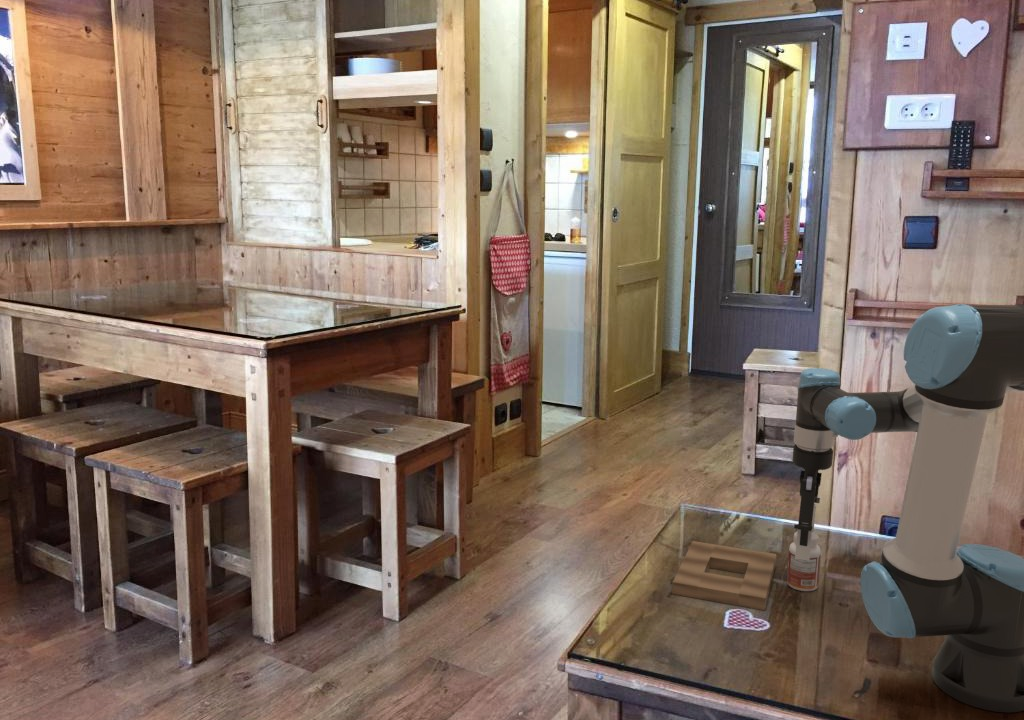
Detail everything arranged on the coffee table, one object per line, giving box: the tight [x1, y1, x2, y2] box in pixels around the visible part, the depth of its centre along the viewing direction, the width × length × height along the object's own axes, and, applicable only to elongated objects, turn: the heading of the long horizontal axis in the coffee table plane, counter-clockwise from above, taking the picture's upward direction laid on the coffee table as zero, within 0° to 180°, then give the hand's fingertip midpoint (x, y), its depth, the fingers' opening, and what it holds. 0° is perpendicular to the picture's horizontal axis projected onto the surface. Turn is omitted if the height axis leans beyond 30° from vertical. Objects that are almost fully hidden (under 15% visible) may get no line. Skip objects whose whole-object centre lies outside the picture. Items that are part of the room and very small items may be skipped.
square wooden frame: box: [671, 540, 777, 611], centre depth 182 cm, size 22×18×2 cm
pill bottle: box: [786, 531, 822, 592], centre depth 178 cm, size 6×6×11 cm
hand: (804, 545), depth 178 cm, fingers open, 13 cm apart
